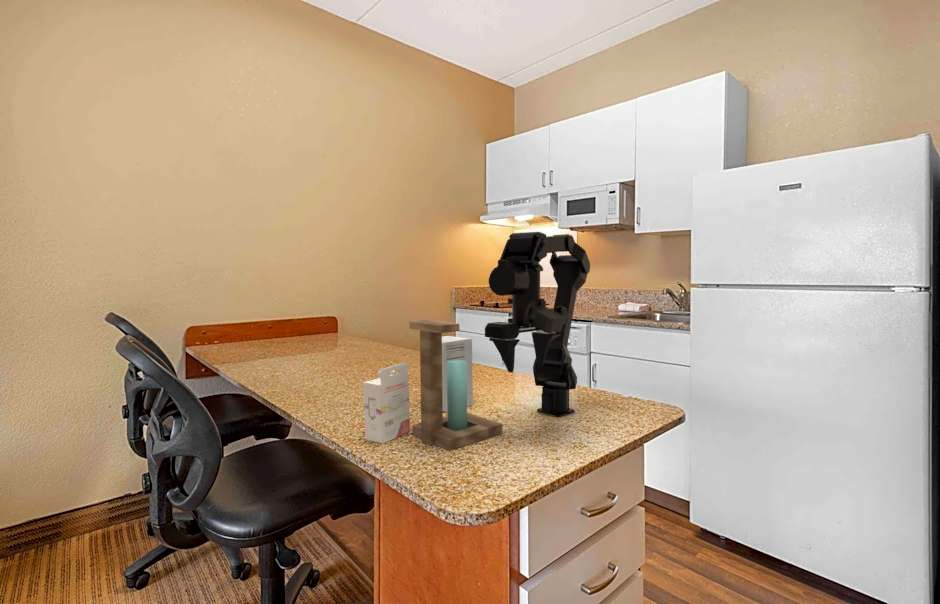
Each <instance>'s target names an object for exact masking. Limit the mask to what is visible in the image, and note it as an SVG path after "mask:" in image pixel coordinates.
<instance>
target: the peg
mask: <svg viewBox="0 0 940 604" xmlns="http://www.w3.org/2000/svg"><path fill="white" fill-rule="evenodd" d="M446 413H447V415H446V416H447V417H448V429H450V430H453V431H459V430H462V429H466V428H467V413H468V407H467V361H464V360H450V361H447V412H446Z"/></svg>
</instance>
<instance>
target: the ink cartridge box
mask: <svg viewBox="0 0 940 604" xmlns="http://www.w3.org/2000/svg"><path fill="white" fill-rule="evenodd" d="M393 370H395V372H396V371H398V373H397V372H396V373H395V374H394V375H390V372H392V371H393ZM408 370H409V369H408V364H407V362H402V363H399V364H395V365H394V364H393V365H391V366H388V367H384V368H380V369H379V371H380V378H378V377H377V378H375V379H372V380H368V381H363V382H362V383H363V407H364V431H365V432H364V433H365V436H364V438H365V441H369V442H374V443H378V444H385V443H388V442H390V441H392V440H394V439H396V438H399V437H402V436H403V435H405V434H407V433H409V432H410V431H411V427H410V426H411V424H410V421H411V420H410V416H411V415H410V383H409V381H410V380H409V379H410V378H409V373H408V372H409V371H408Z"/></svg>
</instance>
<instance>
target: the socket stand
mask: <svg viewBox="0 0 940 604" xmlns="http://www.w3.org/2000/svg"><path fill="white" fill-rule="evenodd" d="M408 322H409V330H416V331H419V354H420V355H419V359H420V362H419V363H420V365H419V367H420V375H419V376H420V423H415V424H412V426H411V427H412V428H411V430H412V432H411V433H412V435H413V436H414V437H416V438H418V439H420V440H421V443H423V444H426V445H427V446H436V447H439V448H441V449H444V450H447V451H448V452H450V451H453V450H454V451H455V450H457V449H459V448H463V447H465V446H468V445H472V444H475V443H478V442H482V441H483V440H484V441H485V440H487V439H491V438H494V437H496V436H499V435H500V436H501V435H502V434H503V424H502V423H501V422H500V423H499V422H497V421H494V420H491V419H488V418H485V417H481V416H478V415H475V414H472V413H470V412H467V428H466V429H462V430H459V431H453V430H450V429H448V417H447V415H446V416H443V415H444V414H443V403H442V336H443V334H447V333H454V332H460V323H459V322H458V323H457V322H456V323H455V322H449V321H439V320H438V321H437V320H430V319H426V320H424V319H423V320H422V319H421V320H413V321H408Z"/></svg>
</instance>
